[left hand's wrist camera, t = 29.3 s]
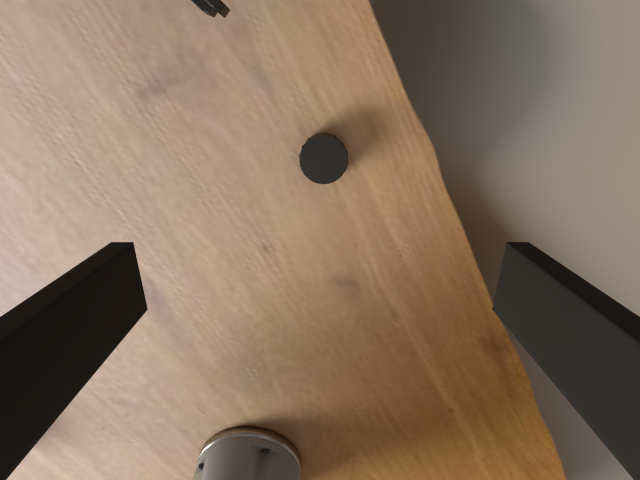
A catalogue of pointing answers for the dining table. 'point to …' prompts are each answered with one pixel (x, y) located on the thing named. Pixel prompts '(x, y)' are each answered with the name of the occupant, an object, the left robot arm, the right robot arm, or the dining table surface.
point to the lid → (323, 158)
